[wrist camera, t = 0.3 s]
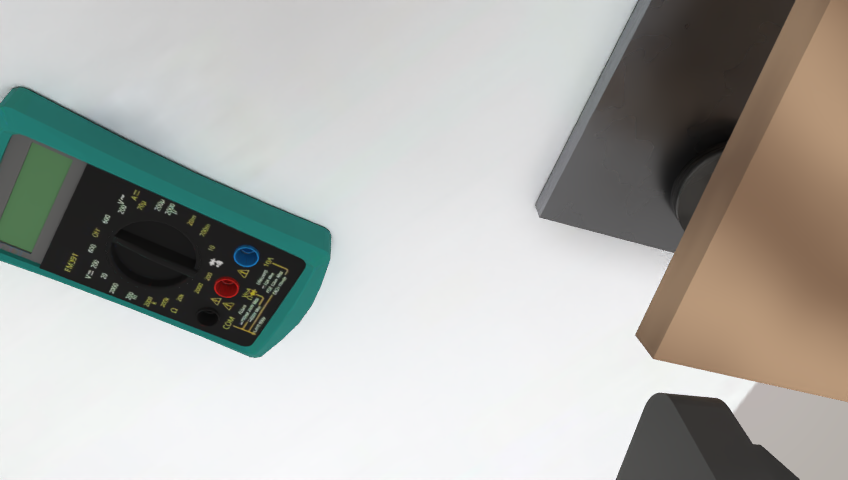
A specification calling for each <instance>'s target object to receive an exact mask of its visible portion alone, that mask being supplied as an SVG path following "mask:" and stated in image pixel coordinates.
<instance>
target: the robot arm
mask: <svg viewBox="0 0 848 480" xmlns="http://www.w3.org/2000/svg"><path fill="white" fill-rule="evenodd" d="M616 480H799V478H798V477H796V476H795V475H794V474H793V473H792V472H791V471H790V470H789V469H787V468H786V467H785V466H784V465H783V464H782V463H781V462H779V461H778V460H777V459H776V458H775V457H774V456H773V455H771V454H770V453H769V452H768V451H767V450H766V449H765V448H764V447H762V446H761V445H755V444H752V442H751V441H750V439H749V438H748V436H747V435H746V433H745V432H744V430H743V428H742V427H741V426H740V424H739V422H738V421H737V419H736V418H735V416H734V415H733V413H732V412H731V410H730V409H729V407H728V406H727V405H726V404H725V403H724V402H723V401H722V400H720V399H718V398H709V397H699V396H688V395H678V394H667V393H656V394H654V395H653V396H652V397H651V398H650V399H649V400H648V402H647V403H646V405H645V407H644V410H643V412H642V415H641V417H640V420H639V422H638V425H637V428H636V430H635V433H634V435H633V438H632V440H631V443H630V445H629V448H628V450H627V453H626V455H625V458H624V460H623V463H622V465H621V468H620V470H619V473H618V475H617V478H616Z"/></svg>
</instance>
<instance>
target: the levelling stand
mask: <svg viewBox="0 0 848 480" xmlns="http://www.w3.org/2000/svg"><path fill="white" fill-rule="evenodd" d="M795 1H796V0H639V1H638V3H637V5H636V7H635V9H634V11H633V13H632V15H631V17H630V19H629V21H628V23H627V25H626V27H625V29H624V31H623V33H622V35H621V36H620V38H619V40H618V42H617V44H616V46H615V48H614V50H613V52H612V54H611V56H610V58H609V60H608V62H607V64H606V66H605V68H604V70H603V72H602V74H601V76H600V78H599V80H598V82H597V84H596V86H595V88H594V90H593V92H592V94H591V96H590V98H589V100H588V102H587V104H586V106H585V108H584V110H583V112H582V114H581V116H580V118H579V120H578V122H577V124H576V125H575V127H574V129H573V131H572V133H571V135H570V137H569V139H568V141H567V143H566V145H565V147H564V149H563V151H562V153H561V155H560V157H559V159H558V161H557V163H556V165H555V167H554V169H553V171H552V173H551V175H550V177H549V179H548V181H547V183H546V185H545V187H544V189H543V191H542V193H541V195H540V197H539V199H538V201H537V203H536V205H535V206H536V209H537V212H538V214H539V217H540V218H544V219H548V220H551V221H555V222H559V223H563V224H567V225H570V226H574V227H578V228H582V229H586V230H589V231H593V232H597V233H601V234H605V235H608V236H612V237H616V238H620V239H624V240H627V241H631V242H635V243H639V244H643V245H646V246H650V247H654V248H658V249H662V250H665V251H669V252H673V253H675V251H676V249H677V247H678V245H679V243H680V240H681V238H682V236H683V234H684V232H685V230H686V228H687V226H688V224H689V222H690V220H691V218H692V215H693V213H694V211H695V209H696V207H697V205H698V203H699V201H700V199H701V197H702V195H703V192H704V190H705V188H706V186H707V184H708V182H709V180H710V178H711V176H712V174H713V172H714V170H715V167H716V165H717V163H718V161H719V159H720V157H721V155H722V153H723V151H724V149H725V147H726V145H727V142H728V140H729V138H730V136H731V134H732V132H733V130H734V128H735V126H736V124H737V122H738V119H739V117H740V115H741V113H742V111H743V109H744V107H745V105H746V103H747V101H748V99H749V97H750V94H751V92H752V90H753V88H754V86H755V84H756V82H757V80H758V78H759V76H760V74H761V72H762V69H763V67H764V65H765V63H766V61H767V59H768V57H769V55H770V53H771V51H772V49H773V46H774V44H775V42H776V40H777V38H778V36H779V34H780V32H781V30H782V28H783V26H784V24H785V21H786V19H787V17H788V15H789V13H790V11H791V9H792V7H793V5H794V3H795Z"/></svg>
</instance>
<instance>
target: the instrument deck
mask: <svg viewBox="0 0 848 480" xmlns="http://www.w3.org/2000/svg"><path fill="white" fill-rule="evenodd" d="M635 335H636V337H637V338H638V339H639V341H640V342H641V343H642V345H643V346H644V347H645V349H646V350H647V351H648V353H649V354H650V355H651V357H652V358H653V359H656V360H661V361H665V362H670V363H674V364H679V365H683V366H688V367H692V368H697V369H701V370H706V371H710V372H715V373H719V374H724V375H728V376H733V377H737V378H742V379H746V380H751V381H755V382H760V383H765V384H769V385H774V386H778V387H783V388H787V389H792V390H796V391H801V392H805V393H810V394H814V395H818V396H823V397H828V398H832V399H836V400H841V401H846V402H848V0H796V1H795V3H794V5H793V7H792V9H791V11H790V13H789V15H788V17H787V19H786V21H785V24H784V26H783V28H782V30H781V32H780V34H779V36H778V38H777V40H776V42H775V44H774V46H773V49H772V51H771V53H770V55H769V57H768V59H767V61H766V63H765V65H764V67H763V69H762V72H761V74H760V76H759V78H758V80H757V82H756V84H755V86H754V88H753V90H752V92H751V94H750V97H749V99H748V101H747V103H746V105H745V107H744V109H743V111H742V113H741V115H740V117H739V119H738V122H737V124H736V126H735V128H734V130H733V132H732V134H731V136H730V138H729V140H728V142H727V145H726V147H725V149H724V151H723V153H722V155H721V157H720V159H719V161H718V163H717V165H716V167H715V170H714V172H713V174H712V176H711V178H710V180H709V182H708V184H707V186H706V188H705V190H704V192H703V195H702V197H701V199H700V201H699V203H698V205H697V207H696V209H695V211H694V213H693V215H692V218H691V220H690V222H689V224H688V226H687V228H686V230H685V232H684V234H683V236H682V238H681V240H680V243H679V245H678V247H677V249H676V251H675V253H674V255H673V257H672V259H671V261H670V263H669V266H668V268H667V270H666V272H665V274H664V276H663V278H662V280H661V282H660V284H659V286H658V288H657V291H656V293H655V295H654V297H653V299H652V301H651V303H650V305H649V307H648V309H647V311H646V313H645V316H644V318H643V320H642V322H641V324H640V326H639V328H638V330H637V332H636V334H635Z"/></svg>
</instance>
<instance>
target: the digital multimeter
mask: <svg viewBox="0 0 848 480" xmlns="http://www.w3.org/2000/svg"><path fill="white" fill-rule="evenodd" d="M92 165H93V166H92ZM94 166H95V167H94ZM96 167H97V168H96ZM99 168H100V169H99ZM101 169H102V170H101ZM103 170H104V171H103ZM105 171H106V172H105ZM108 172H109V173H108ZM110 173H111V174H110ZM112 174H113V175H112ZM114 175H115V176H114ZM117 176H118V177H117ZM119 177H120V178H119ZM121 178H122V179H121ZM123 179H125V180H123ZM126 180H127V181H126ZM128 181H129V182H128ZM130 182H131V183H130ZM132 183H134V184H132ZM135 184H136V185H135ZM137 185H138V186H137ZM139 186H140V187H139ZM141 187H143V188H141ZM144 188H145V189H144ZM146 189H147V190H146ZM148 190H149V191H148ZM150 191H152V192H150ZM153 192H154V193H153ZM155 193H156V194H155ZM157 194H158V195H157ZM159 195H161V196H159ZM162 196H163V197H162ZM164 197H165V198H164ZM166 198H167V199H166ZM168 199H170V200H168ZM171 200H172V201H171ZM173 201H174V202H173ZM175 202H176V203H175ZM177 203H179V204H177ZM180 204H181V205H180ZM182 205H183V206H182ZM184 206H185V207H184ZM187 207H188V208H187ZM189 208H190V209H189ZM191 209H192V210H191ZM193 210H194V211H193ZM196 211H197V212H196ZM198 212H199V213H198ZM200 213H201V214H200ZM202 214H203V215H202ZM205 215H206V216H205ZM207 216H208V217H207ZM209 217H210V218H209ZM211 218H212V219H211ZM214 219H215V220H214ZM216 220H217V221H216ZM218 221H219V222H218ZM220 222H221V223H220ZM223 223H224V224H223ZM225 224H226V225H225ZM227 225H228V226H227ZM229 226H230V227H229ZM234 228H235V229H234ZM236 229H237V230H236ZM238 230H239V231H238ZM261 240H262V241H261ZM263 241H264V242H263ZM265 242H266V243H265ZM272 245H273V246H272ZM274 246H275V247H274ZM281 249H282V250H281ZM283 250H284V251H283ZM199 252H200V253H199ZM290 253H291V254H290ZM292 254H293V255H292ZM330 254H331V234H330V231H328V230H327V229H326V228H324V227H321V226H319V225H317V224H314V223H312V222H309V221H307V220H304V219H302V218H299V217H297V216H294V215H292V214H289V213H287V212H284V211H282V210H279V209H277V208H275V207H272V206H270V205H267V204H265V203H263V202H261V201H258V200H256V199H254V198H251V197H249V196H247V195H245V194H242V193H240V192H238V191H235V190H233V189H231V188H228V187H226V186H224V185H222V184H219V183H217V182H215V181H212V180H210V179H208V178H205V177H203V176H201V175H198V174H196V173H194V172H192V171H190V170H188V169H186V168H184V167H182V166H180V165H178V164H175V163H173V162H171V161H169V160H167V159H165V158H163V157H161V156H159V155H157V154H155V153H152V152H150V151H148V150H146V149H144V148H142V147H140V146H138V145H135V144H133V143H131V142H129V141H127V140H125V139H123V138H121V137H119V136H117V135H115V134H113V133H111V132H109V131H107V130H105V129H103V128H101V127H100V126H98V125H96V124H94V123H92V122H90V121H88V120H86V119H84V118H82V117H80V116H78V115H76V114H74V113H72V112H70V111H69V110H67V109H65V108H63V107H61V106H59V105H57V104H55V103H53V102H51V101H49V100H47V99H45V98H43V97H41V96H39V95H38V94H36V93H34V92H32V91H30V90H28V89H25V88H21V87H17V88H13V89H12V90H11V91H10V92H9V93H8V95H7V96H6V97H5V98H4V99H3V101H2V102H1V103H0V261H3V262H6V263H8V264H11V265H14V266H17V267H20V268H23V269H26V270H28V271H31V272H34V273H37V274H40V275H43V276H45V277H48V278H51V279H54V280H56V281H59V282H62V283H64V284H67V285H70V286H72V287H75V288H78V289H80V290H83V291H86V292H88V293H91V294H94V295H96V296H99V297H102V298H104V299H107V300H110V301H112V302H115V303H118V304H120V305H123V306H126V307H128V308H131V309H133V310H136V311H138V312H141V313H143V314H146V315H149V316H151V317H154V318H156V319H159V320H161V321H164V322H166V323H169V324H171V325H174V326H176V327H179V328H181V329H184V330H186V331H189V332H191V333H194V334H196V335H199V336H202V337H204V338H206V339H209V340H211V341H214V342H216V343H218V344H221V345H223V346H225V347H228V348H230V349H232V350H235V351H237V352H240V353H242V354H244V355H247V356H249V357H254V358H257V357H261V356H262V355H264V354H265V353H266V352H267V351H269V350H270V349H271V348H272V347H274V346H275V345H276V344H277V343H278V342H280V341H281V340H282V339H283V338H284V337H285V336H286V335H287V334H288V333H289V332H290V331H291V330H292V329H293V328H294V327H296V326H297V325H298V324H299V322H300V321H301V320H302V318H303V317H304V315H305V314H306V313H307V311H308V310H309V308H310V307H311V306H312V304H313V302H314V300H315V297H316V295H317V293H318V291H319V289H320V287H321V284H322V281H323V279H324V276H325V273H326V270H327V267H328V264H329V261H330ZM107 258H108V259H107ZM200 260H201V261H200ZM109 263H110V264H109ZM110 265H111V266H110ZM199 266H200V267H199ZM295 282H296V283H295ZM293 285H294V286H293ZM179 287H180V288H179ZM291 288H292V289H291ZM289 291H290V292H289ZM286 295H287V296H286ZM284 298H285V299H284ZM282 301H283V302H282ZM280 304H281V305H280ZM275 311H276V312H275ZM273 314H274V315H273ZM271 317H272V318H271ZM269 320H270V321H269ZM266 324H267V325H266ZM264 327H265V328H264ZM262 330H263V331H262Z"/></svg>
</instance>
